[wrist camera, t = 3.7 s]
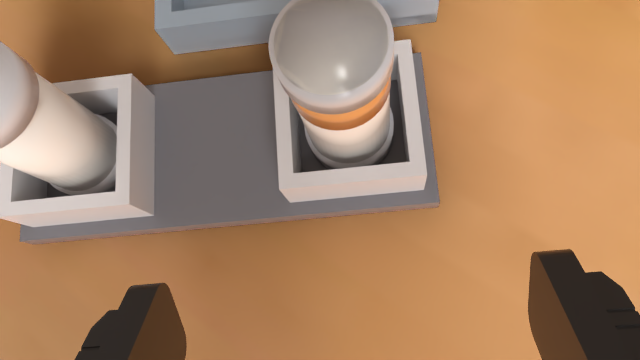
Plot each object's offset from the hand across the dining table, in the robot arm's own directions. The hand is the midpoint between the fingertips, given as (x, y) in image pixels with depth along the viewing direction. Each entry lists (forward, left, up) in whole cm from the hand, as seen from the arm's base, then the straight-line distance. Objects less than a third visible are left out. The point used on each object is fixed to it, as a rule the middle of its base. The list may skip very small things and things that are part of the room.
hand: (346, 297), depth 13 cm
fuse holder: (+6, -8, -12) cm, 16 cm away
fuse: (+12, -8, -11) cm, 18 cm away
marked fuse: (0, -8, -11) cm, 14 cm away
